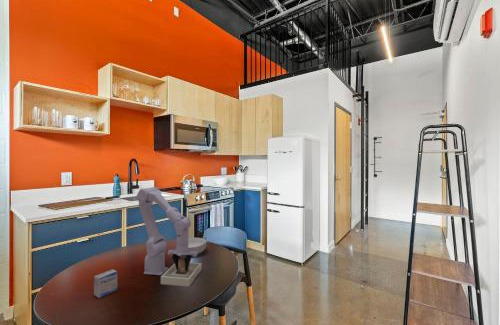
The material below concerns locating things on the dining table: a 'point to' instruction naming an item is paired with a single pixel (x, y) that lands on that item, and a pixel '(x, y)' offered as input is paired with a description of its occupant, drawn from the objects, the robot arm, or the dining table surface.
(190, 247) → the cereal bowl
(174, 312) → the dining table surface
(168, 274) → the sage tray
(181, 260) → the birch peg
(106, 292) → the medicine box
